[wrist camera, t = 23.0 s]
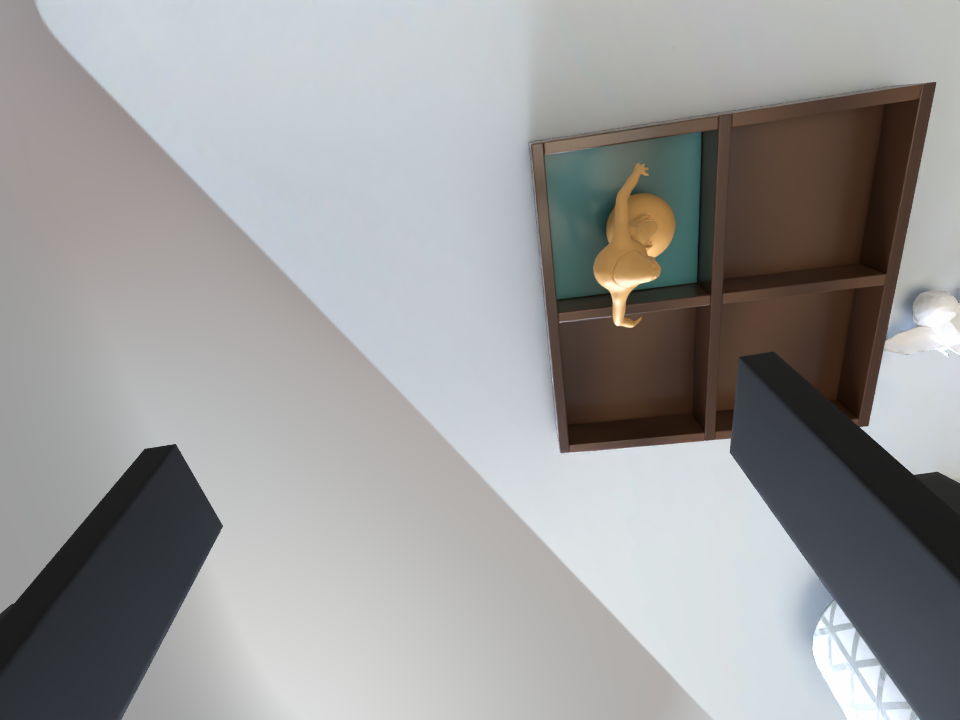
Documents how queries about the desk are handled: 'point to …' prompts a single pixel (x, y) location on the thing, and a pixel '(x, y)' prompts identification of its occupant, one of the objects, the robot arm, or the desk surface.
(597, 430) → the divided tray
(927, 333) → the toy bird
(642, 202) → the figurine
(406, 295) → the desk surface
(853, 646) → the planter
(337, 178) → the desk surface
